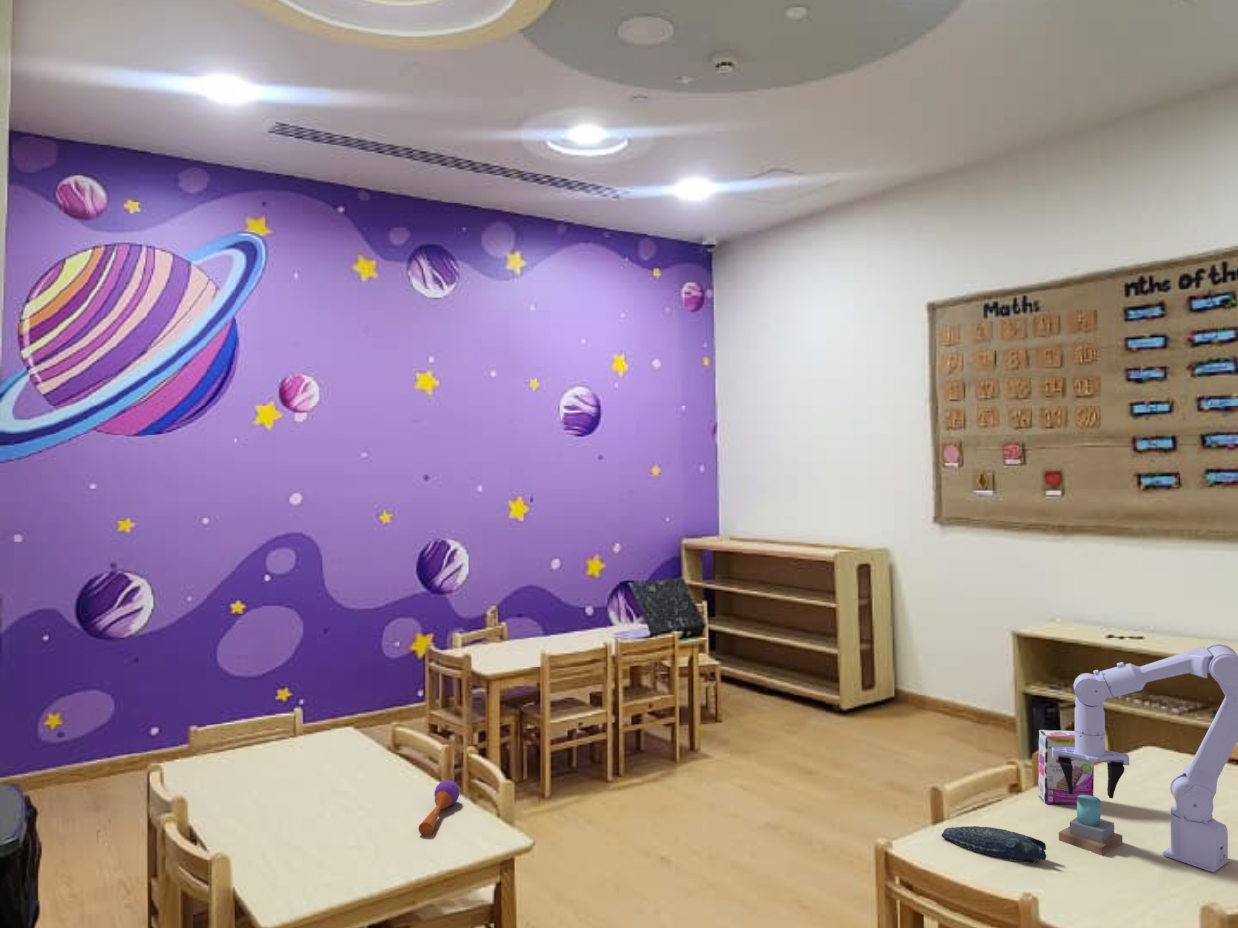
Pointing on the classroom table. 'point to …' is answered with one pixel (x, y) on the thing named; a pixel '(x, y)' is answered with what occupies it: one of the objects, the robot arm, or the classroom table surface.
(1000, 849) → the fish model
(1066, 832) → the walnut base slab
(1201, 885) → the classroom table surface
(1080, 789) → the candy bar box
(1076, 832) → the purplish gray square slab
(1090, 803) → the teal cylinder
